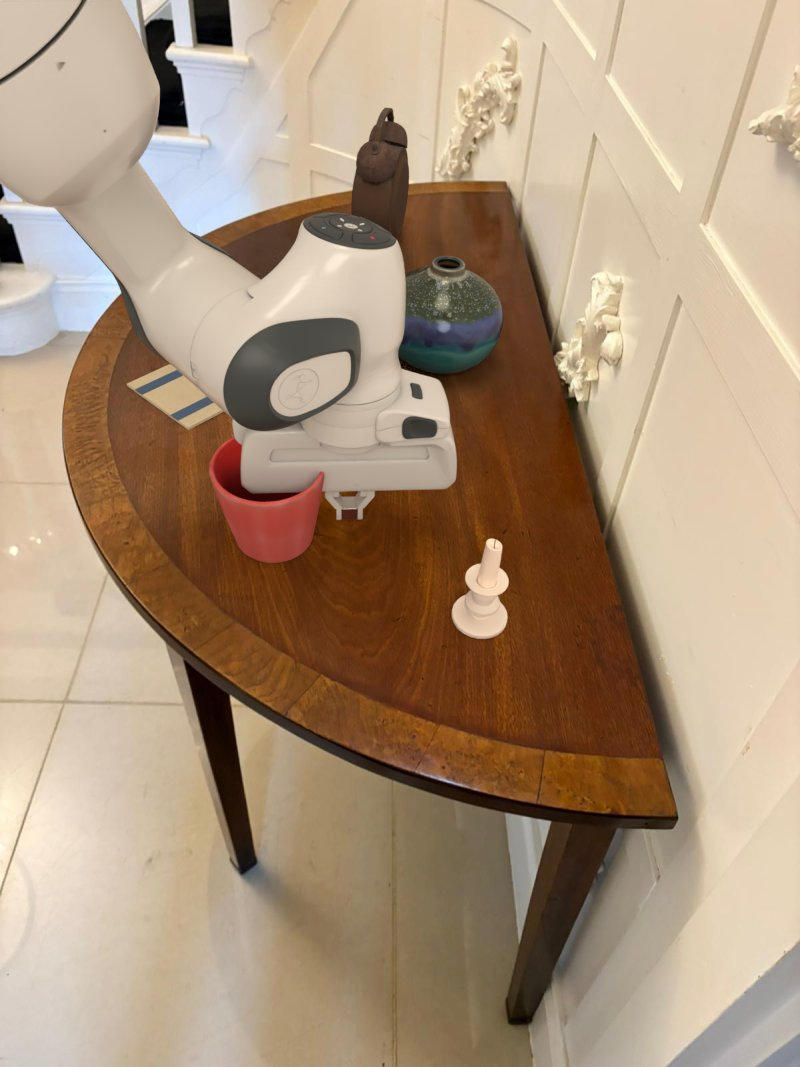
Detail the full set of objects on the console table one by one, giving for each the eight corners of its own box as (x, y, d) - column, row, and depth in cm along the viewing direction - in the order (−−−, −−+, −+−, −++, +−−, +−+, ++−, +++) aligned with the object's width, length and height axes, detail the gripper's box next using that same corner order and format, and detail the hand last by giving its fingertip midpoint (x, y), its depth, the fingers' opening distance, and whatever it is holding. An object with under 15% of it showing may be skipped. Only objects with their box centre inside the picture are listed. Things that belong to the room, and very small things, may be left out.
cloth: (188, 430, 90) (187, 427, 90) (126, 386, 96) (126, 383, 95) (314, 364, 101) (314, 361, 101) (253, 328, 107) (253, 325, 106)
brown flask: (365, 224, 132) (369, 92, 118) (407, 230, 131) (416, 98, 117) (344, 262, 122) (345, 123, 108) (389, 269, 121) (397, 130, 107)
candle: (500, 594, 76) (518, 516, 68) (512, 637, 72) (532, 560, 65) (447, 597, 75) (459, 519, 68) (456, 641, 71) (470, 563, 64)
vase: (518, 374, 103) (537, 279, 93) (417, 403, 97) (426, 305, 87) (456, 318, 112) (467, 226, 102) (360, 341, 106) (362, 246, 96)
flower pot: (351, 530, 80) (350, 457, 73) (276, 593, 74) (267, 520, 67) (275, 485, 84) (268, 412, 78) (198, 541, 78) (183, 467, 71)
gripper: (226, 426, 66) (242, 541, 75) (468, 423, 68) (452, 535, 77) (231, 382, 70) (245, 496, 80) (457, 380, 72) (444, 491, 82)
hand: (348, 515), depth 79 cm, fingers closed
